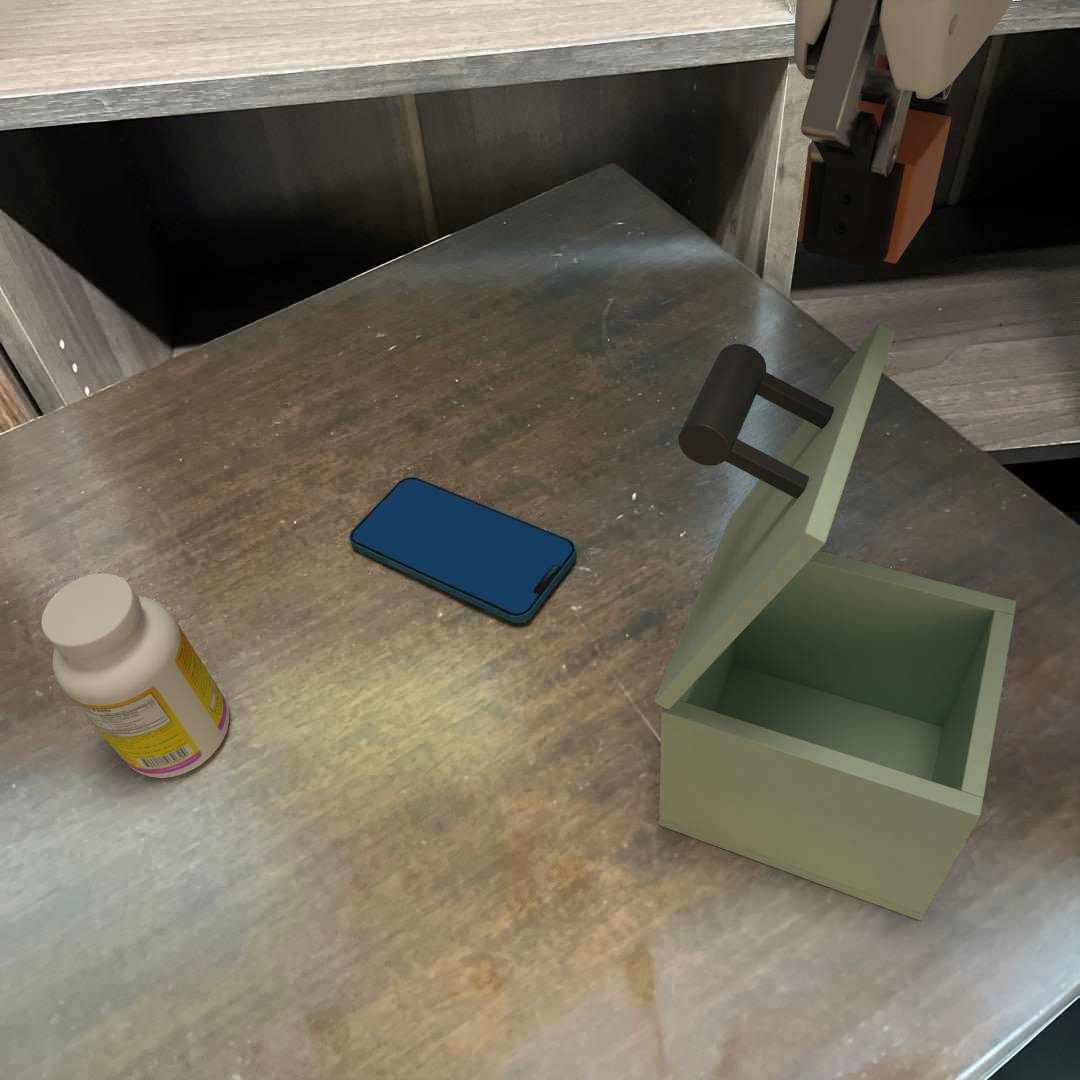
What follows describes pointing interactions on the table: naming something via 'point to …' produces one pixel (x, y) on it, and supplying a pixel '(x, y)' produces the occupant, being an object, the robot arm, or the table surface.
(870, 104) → the block
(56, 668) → the supplement bottle
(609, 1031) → the table surface
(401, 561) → the smartphone
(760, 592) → the box lid
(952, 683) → the green box
